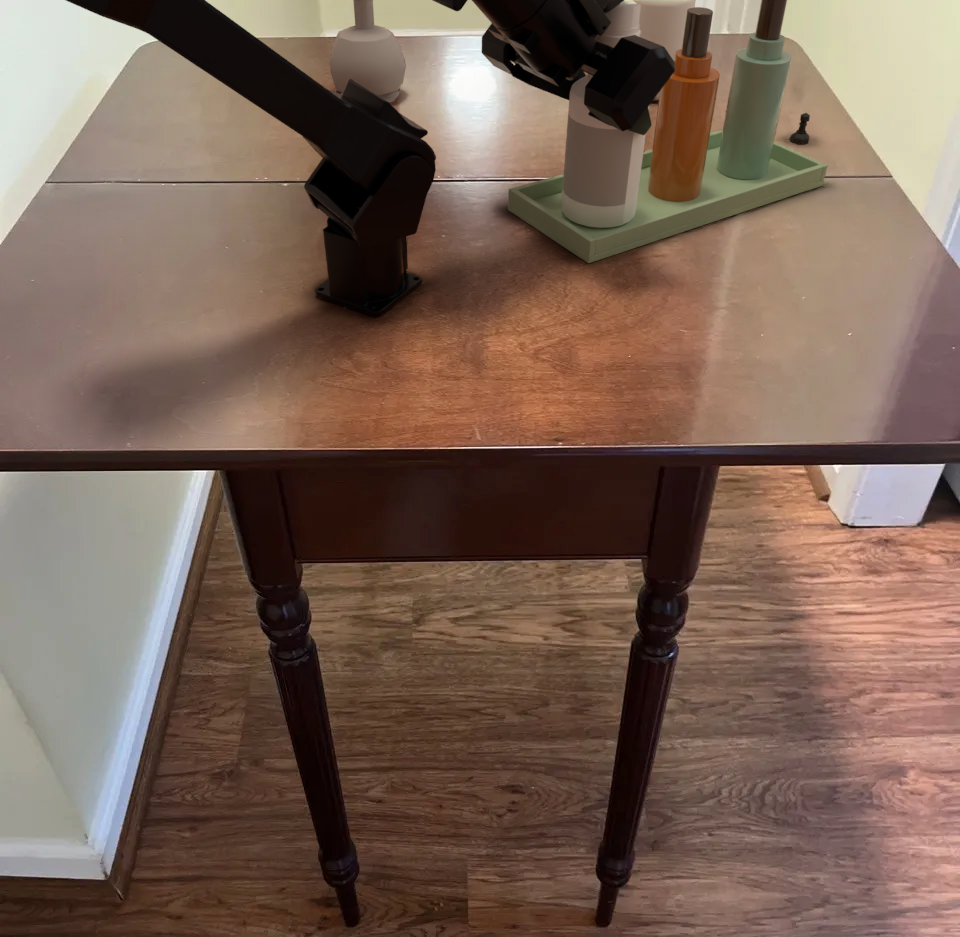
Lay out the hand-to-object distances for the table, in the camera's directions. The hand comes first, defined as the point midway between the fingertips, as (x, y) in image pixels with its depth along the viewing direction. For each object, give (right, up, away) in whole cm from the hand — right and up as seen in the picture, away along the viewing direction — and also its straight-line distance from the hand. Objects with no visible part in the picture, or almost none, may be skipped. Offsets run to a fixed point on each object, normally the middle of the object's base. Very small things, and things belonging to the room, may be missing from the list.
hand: (620, 116), depth 83 cm
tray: (+6, -4, +9) cm, 12 cm away
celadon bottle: (+14, -1, +13) cm, 19 cm away
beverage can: (+8, +14, +31) cm, 35 cm away
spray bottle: (-1, -7, +5) cm, 9 cm away
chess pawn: (+22, +5, +20) cm, 30 cm away
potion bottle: (-25, +13, +30) cm, 41 cm away
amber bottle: (+6, -4, +9) cm, 12 cm away
